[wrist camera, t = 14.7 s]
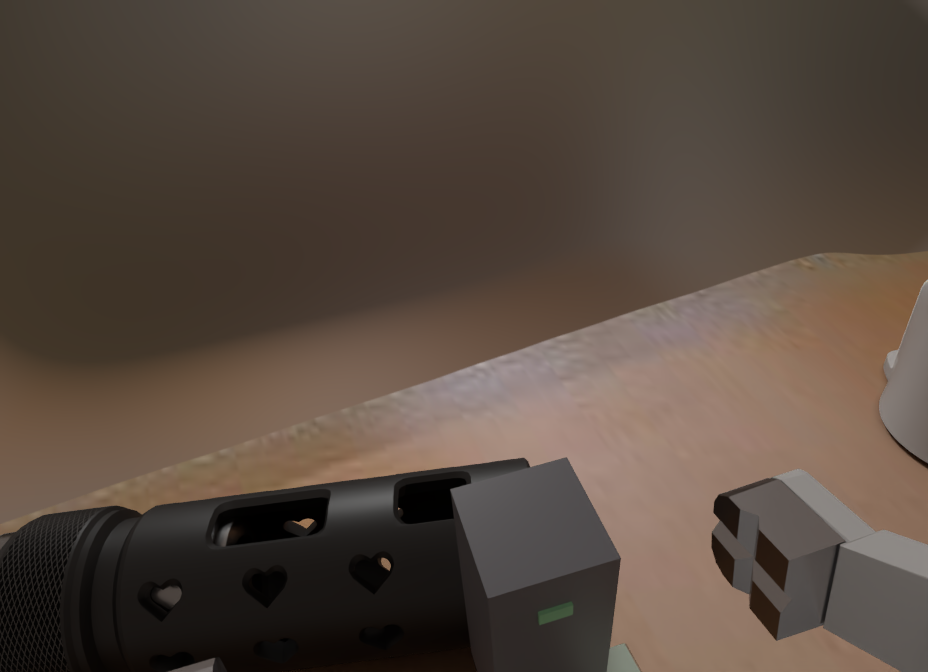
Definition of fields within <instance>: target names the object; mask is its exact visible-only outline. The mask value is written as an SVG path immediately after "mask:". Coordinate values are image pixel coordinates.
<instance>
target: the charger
mask: <svg viewBox="0 0 928 672" xmlns="http://www.w3.org/2000/svg"><path fill="white" fill-rule="evenodd" d="M450 491H451V499H452V507H453V514H454V522H455V530H456V537H457V545H458V553H459V561H460V568H461V576H462V584H463V592H464V599H465V607H466V615H467V623H468V630H469V638H470V646H471V653H472V656H473V660H474V663H475V666H476V670H477V672H607V665H608V657H609V649H610V641H611V633H612V625H613V617H614V609H615V601H616V593H617V584H618V576H619V568H620V560H621V558H620V556H619V554H618V552H617V550H616V548H615V546H614V544H613V543H612V541H611V539H610V537H609V535H608V533H607V531H606V530H605V528H604V526H603V524H602V522H601V520H600V518H599V517H598V515H597V513H596V511H595V509H594V507H593V505H592V503H591V502H590V500H589V498H588V496H587V494H586V492H585V490H584V489H583V487H582V485H581V483H580V481H579V479H578V477H577V476H576V474H575V472H574V470H573V468H572V466H571V464H570V462H569V461H568V459H567V457H566V458H563V459H559V460H555V461H552V462H548V463H544V464H541V465H537V466H533V467H530V468H526V469H522V470H519V471H515V472H511V473H508V474H504V475H500V476H497V477H493V478H490V479H486V480H482V481H479V482H475V483H471V484H468V485H464V486H460V487H457V488H453V489H450Z"/></svg>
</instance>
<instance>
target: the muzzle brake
mask: <svg viewBox="0 0 928 672" xmlns="http://www.w3.org/2000/svg"><path fill="white" fill-rule="evenodd" d="M526 468H530V466H529V463H528V461H527V460H526V459H525V458H518V459H510V460H503V461H495V462H490V463H483V464H474V465H467V466H460V467H449V468H441V469H434V470H426V471H418V472H410V473H403V474H396V475H390V476H383V477H374V478H367V479H357V480H349V481H341V482H334V483H326V484H318V485H310V486H304V487H298V488H290V489H282V490H275V491H264V492H257V493H249V494H241V495H234V496H226V497H218V498H212V499H206V500H198V501H190V502H183V503H172V504H164V505H159V506H155V507H153V508H152V509H150V510H148V511H147V512H145V513H144V514H143V515H142V514H140V513H139V512H137V511H135V510H131V509H127V508H125V507H120V506H108V507H100V508H93V509H85V510H77V511H70V512H62V513H54V514H48V515H43V516H41V517H39V518H37V519H35V520H33V521H30V522H29V523H27V524H26V525H24V526H23V527H21V528H20V529H19V530H18V531H17V532H13V533H7V534H3V535H1V536H0V672H168V671H172V670H175V669H179V668H182V667H185V666H189V665H192V664H195V663H199V662H202V661H206V660H209V659H212V658H217V657H220V659H221V661H222V663H223V665H224V666H225V668H226V670H227V672H282V671H289V670H297V669H305V668H313V667H320V666H328V665H336V664H343V663H351V662H359V661H366V660H374V659H382V658H390V657H397V656H405V655H413V654H420V653H428V652H436V651H443V650H451V649H459V648H467V647H471V646H470V638H469V630H468V623H467V615H466V607H465V599H464V592H463V584H462V576H461V568H460V561H459V553H458V545H457V537H456V530H455V522H454V514H453V507H452V499H451V491H450V489H453V488H457V487H460V486H464V485H468V484H471V483H475V482H479V481H482V480H486V479H490V478H493V477H497V476H500V475H504V474H508V473H511V472H515V471H519V470H522V469H526ZM398 508H400V509H399V510H398ZM307 518H309V519H313V520H315V521H314V522H313V523H312V524H311V525H310V526H309V527H308V528H307V529H306V528H304V527H303V526H301V525H299V524H297V523H295V522H293V521H297V522H300V521H301V520H303V519H307ZM382 558H386V559H387V560H389V562H390V564H391V568H390V571H389V570H388V569H386V568H385V567H383V565H382V564H381V559H382Z"/></svg>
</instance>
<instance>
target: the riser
mask: <svg viewBox="0 0 928 672" xmlns="http://www.w3.org/2000/svg"><path fill="white" fill-rule="evenodd" d="M607 672H642V671H641V669H640V667H639V666H638V664H637V662H636V660H635V659H634V657H633V655H632V653H631V651H630V650H629V648H628V646H627V644H624V643H623V644H620V645H617V646H614V647H611V648H610V649H609V657H608V665H607Z"/></svg>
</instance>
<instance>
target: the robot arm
mask: <svg viewBox="0 0 928 672" xmlns="http://www.w3.org/2000/svg"><path fill="white" fill-rule="evenodd" d="M884 372H885V375H886V377H887V380H888V383H887V385H886V387H885V389H884V391H883V393H882V395H881V398H880V401H879V412H880V416H881V418H882V421H883V423H884V425H885V426H886V428H887V429H888V430H889V432H890V433H891V434H892V435H893V437H894V438H895V439H896V440H897V441H898V442H899V443H900V444H902V445H903V446H904V447H905V448H906V449H907V450H909V451H910V452H911V453H913V454H914V455H916V456H917V457H919V458H920V459H922V460H923V461H925V462H926V463H928V280H927V281H926V282H925V283H924V284H923V286H922V288H921V291H920V293H919V296H918V298H917V301H916V304H915V306H914V309H913V312H912V314H911V317H910V320H909V322H908V325H907V328H906V331H905V333H904V336H903V339H902V342H901V344H900V347H899V350H894V351H891V352H889V353H888V355H887V357H886V360H885V362H884ZM713 513H714V514H715V515H716V516H717V517H718V518H719V520H720V521H719V523H718V524H717V526H716V527H715V528H714V530H713V531H712V546H711V547H712V550H713V554H714V557H715V560H716V563H717V565H718V567H719V569H720V570H721V572H722V574H723V575H724V577H725V578H726V579H727V581H728V582H729V583H730V584H731V586H732V587H734V588H736V589H738V590H741V591H743V592H745V593H747V594H749V606H750V609H751V610H752V612H753V613H754V614H755V615H756V617H757V618H758V619H759V620H760V621H761V623H762V624H763V625H764V626H765V628H766V629H767V630H768V631H769V632H770V634H771V635H772V636H773V637H774V639H775V640H776V641H777V640H780V639H783V638H786V637H789V636H792V635H795V634H798V633H801V632H804V631H807V630H810V629H813V628H816V627H819V626H822V625H824V627H823V628H824V629H826V630H828V631H830V632H832V633H833V634H835V635H837V636H839V637H840V638H842V639H844V640H846V641H848V642H849V643H851V644H853V645H855V646H857V647H858V648H860V649H862V650H864V651H865V652H867V653H869V654H871V655H873V656H874V657H876V658H878V659H880V660H882V661H883V662H885V663H887V664H889V665H890V666H892V667H894V668H896V669H898V670H899V671H901V672H928V545H927V544H924V543H921V542H918V541H915V540H912V539H910V538H907V537H904V536H901V535H898V534H895V533H892V532H889V531H887V530H881V531H878V532H876V531H874V530H873V529H872V528H871V527H870V526H869V525H867V524H866V523H865V522H864V521H863V520H862V519H861V518H859V517H858V516H857V515H856V514H855V513H854V512H852V511H851V510H850V509H849V508H848V507H847V506H845V505H844V504H843V503H842V502H841V501H840V500H839V499H837V498H836V497H835V496H834V495H833V494H832V493H830V492H829V491H828V490H827V489H826V488H825V487H824V486H822V485H821V484H820V483H819V482H818V481H817V480H815V479H814V478H813V477H812V476H811V475H810V474H808V473H807V472H806V471H803V470H800V469H796V470H793V471H790V472H787V473H784V474H781V475H777V476H774V477H772V478H767V479H764V480H761V481H758V482H755V483H752V484H749V485H746V486H743V487H740V488H737V489H734V490H731V491H728V492H725V493H722V494H719V495H718V497H717V498H716V500H715V501H714V511H713ZM168 672H227V670H226V668H225V666H224V665H223V663H222V661H221V659H220V657H217V658H212V659H209V660H206V661H202V662H199V663H195V664H192V665H189V666H185V667H182V668H179V669H175V670H172V671H168Z"/></svg>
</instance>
